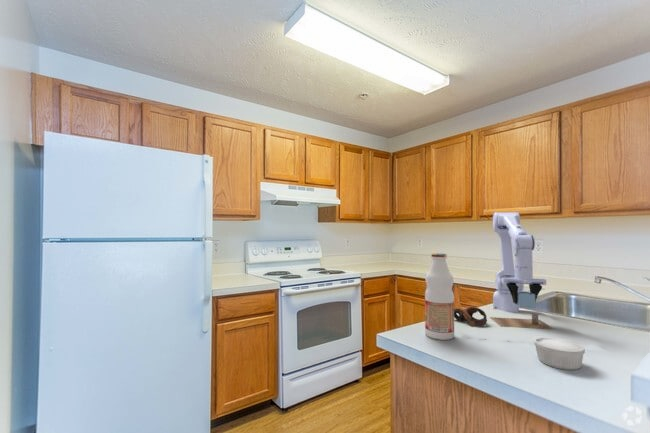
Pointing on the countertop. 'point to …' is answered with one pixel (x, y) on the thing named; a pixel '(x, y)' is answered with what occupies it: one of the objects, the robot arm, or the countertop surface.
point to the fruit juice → (439, 300)
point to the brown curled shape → (470, 316)
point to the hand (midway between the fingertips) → (524, 303)
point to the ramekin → (559, 353)
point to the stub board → (522, 322)
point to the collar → (525, 299)
